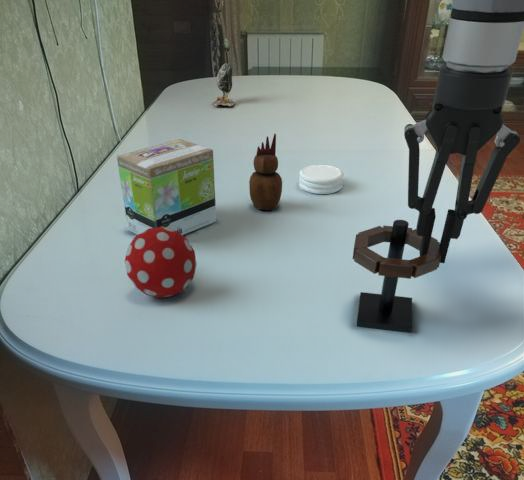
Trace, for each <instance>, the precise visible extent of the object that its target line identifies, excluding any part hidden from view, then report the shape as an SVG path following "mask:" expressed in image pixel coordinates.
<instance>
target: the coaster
mask: <svg viewBox="0 0 524 480" xmlns="http://www.w3.org/2000/svg"><path fill="white" fill-rule="evenodd" d="M298 179H299V181H298V185H299V188H300V189H301V190H302V191H304V192H306V193H310V194H314V195H329V194H334V193H337V192H338V191H340V190H341V189H342V188H343V182H344V172H343V170H342V169H340V168H339V167H336V166H333V165H329V164H312V165H307V166H304V167H302V169H301V170H300V171H299V178H298Z"/></svg>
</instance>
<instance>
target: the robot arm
mask: <svg viewBox="0 0 524 480" xmlns="http://www.w3.org/2000/svg"><path fill="white" fill-rule="evenodd" d="M523 32H524V0H452V4H451V12H450V16H449V21H448V25H447V30H446V35H445V41H444V46H443V51H442V56H441V58H442V60H443V61H444V62H445V64H442V66H441V67H440V68H439V71H438V76H437V81H436V87H435V92H434V97H433V101H432V106H431V108H430V109H429V110H428V112H427V113H426V115H425V119H423V120H421V121H419V122H417V123H415V124H412V123H407V124H406V125H405V126H404V129H403V131H404V133H403V135H404V139H405V143H406V146H407V148H408V172H407V173H408V180H407V207H408V208H409V209H410V210H416V211H417V212H419V213H418V217H417V223H416V228H415V229H416V231H417V236H423V238H422V242H421V247H420V251H419V256H422V255H425V254H427V252H428V249H429V244H430V240H431V237H432V236H433V231H434V226H435V221H436V208H435V207H433V206H434V203H435V200H436V197H437V194H438V190H439V188H440V185H441V181H442V177H443V176H444V172H445V168H446V166H447V163H448V162H449V158H450V156H451V155H454V154H459V155H461V163H460V168H459V169H460V170H459V176H458V177H459V178H458V184H457V189H456V190H457V191H456V197H455V204H454V209H450V208H449V209H447V212H446V216H445V222H444V225H443V228H442V229H443V230H442V234H441V238H440V241H439V242H440V250H441V260H440V264H445V263H446V259H447V254H448V251H449V247H450V243H451V239H453V240H458V239H459V238H460V236H461V233H462V228H463V225H464V222H465V220H466V218H467V217H468V216H469V215H473V214H474V215H479V214H481V213H482V212H483V211H484V208H485V207H486V204H487V201H488V199H489V197H490V196H491V192H492V190H493V189H494V187H495V184H496V182H497V180H498V177H499V175H500V173H501V171H502V169H503V166H504V165H505V162H506V160H507V158H508V156H509V155H510V154H511V152H513V151H514V150H515V148H516V147H517V146H518V145H519V144H520V142H521V137H520V135H519V134H518V132H517V131H516V129H513V128H512V129H511V128H508V127H507V126H506V125H504V118H503V115H502V112H503V107H504V103H505V99H506V96H507V92H508V88H509V85H510V81H511V78H512V72H511V68H509V66H511V65H512V64H515V62H516V59H517V56H518V52H519V47H520V44H521V40H522V36H523ZM427 131H428V133H429V135H430V137H431V138H432V140H433V142H434V144H435V147H436V149H435V154H434V158H433V161H432V165H431V167H430V171H429V175H428V177H427V181H426V185H425V188H424V190H423V195H422V197H421V196H420V195H419V184H420V183H419V182H420V179H419V178H420V154H421V153H420V151H421V150H420V144H421V143H422V142H423V141H424V139H425V133H426V132H427ZM495 135H496V136H495ZM494 136H495V138H494V144H495V146H494V148H493V150H492V152H491V154H490V157H489V158H488V161H487V163H486V166H485V168H484V170H483V172H482V175H481V176H480V179H479V182H478V184H477V185H476V188H475V191H474V193H473V195H472V197H471V199H470V195H471V188H472V182H473V177H474V172H475V171H474V170H475V165H476V162H477V156H478V151H479V150H481V149H482V148H483V147H484V146H485V145H486V144H487V143H488V142H489V141H490V140H491V139H492V138H493V137H494Z"/></svg>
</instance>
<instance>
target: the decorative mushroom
mask: <svg viewBox="0 0 524 480" xmlns="http://www.w3.org/2000/svg"><path fill="white" fill-rule="evenodd" d="M124 266H125V270H126V275H127V277H128V279H129V280H130V282H131V283H132V285H133V286H134V288H136V289H138V290H139V291H140V292H141V293H143V294H144V295H146V296H150V297H154V298H158V299H162V298H169V297H174V296H176V295H178V294H179V293H181V292H182V291H184V290H185V289H187V287H188V286H189V285H190V283H191V282H192V280H193V279H194V277H195V272H196V269H197V257H196V252H195V249H194V247H193V246H192V245H191V243H190V241H189V239H188V238H186V236H184V235H181V234H180V233H179V232H177V231H176V230H172V229H169V228H165V227H157V228H150V229H147V230H145V231H143V232H142V233H140V234H138V235H135V236H134V237H133V239H132V241H131V242H130V244H129V245H128V246H127V248H126V254H125V259H124Z"/></svg>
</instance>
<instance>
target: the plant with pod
mask: <svg viewBox="0 0 524 480" xmlns="http://www.w3.org/2000/svg"><path fill="white" fill-rule="evenodd" d="M230 49H231V44H230V42H229V40H228V39H227V37H226V38H224V39H223V51H224V52H225V61H227V59H228V52H229V51H230ZM216 85H217V88H218V89H219V90H220V91H221V92H222V96H217V98H216V100H214V101H213V102H212V104H213V105H214V107H217V106H220V105H221V106H224V107H226V106H227V107H232V106H234V105H235V104H236V102H235V101H233V100H230V97H228V96H229V94H230V93H231V91H232V88H233V68H232V65H231V63H230V64H229V63H227V62H225V63H224V64H222V66H221V67H220V69H219V71H218V72H217V75H216Z"/></svg>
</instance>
